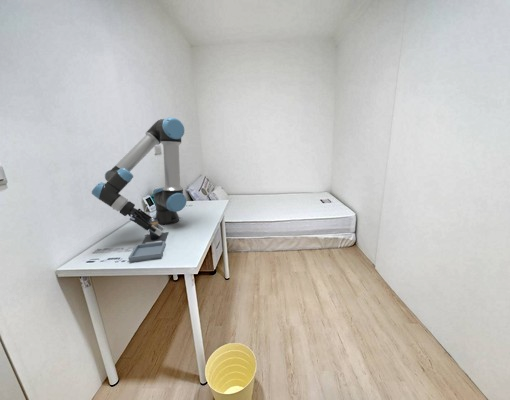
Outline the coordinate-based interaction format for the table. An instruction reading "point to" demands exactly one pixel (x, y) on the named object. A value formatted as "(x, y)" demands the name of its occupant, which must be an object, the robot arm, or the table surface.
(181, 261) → the table surface
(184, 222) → the table surface
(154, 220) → the battery cell
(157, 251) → the tray
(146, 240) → the dark grey pad
